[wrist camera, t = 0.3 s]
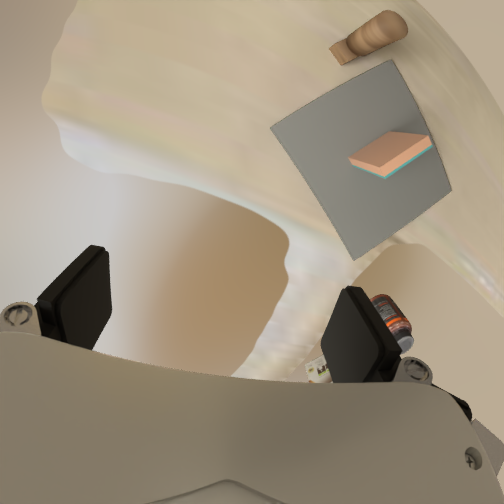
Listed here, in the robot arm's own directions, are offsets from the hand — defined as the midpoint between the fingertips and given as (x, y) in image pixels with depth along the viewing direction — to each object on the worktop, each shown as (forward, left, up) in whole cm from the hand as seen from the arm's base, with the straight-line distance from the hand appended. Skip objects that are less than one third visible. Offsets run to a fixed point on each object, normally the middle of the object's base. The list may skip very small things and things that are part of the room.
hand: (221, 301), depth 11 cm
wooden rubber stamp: (-25, -7, -30) cm, 40 cm away
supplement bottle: (-8, +33, -30) cm, 46 cm away
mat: (-19, +9, -30) cm, 37 cm away
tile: (-19, +7, -25) cm, 32 cm away
